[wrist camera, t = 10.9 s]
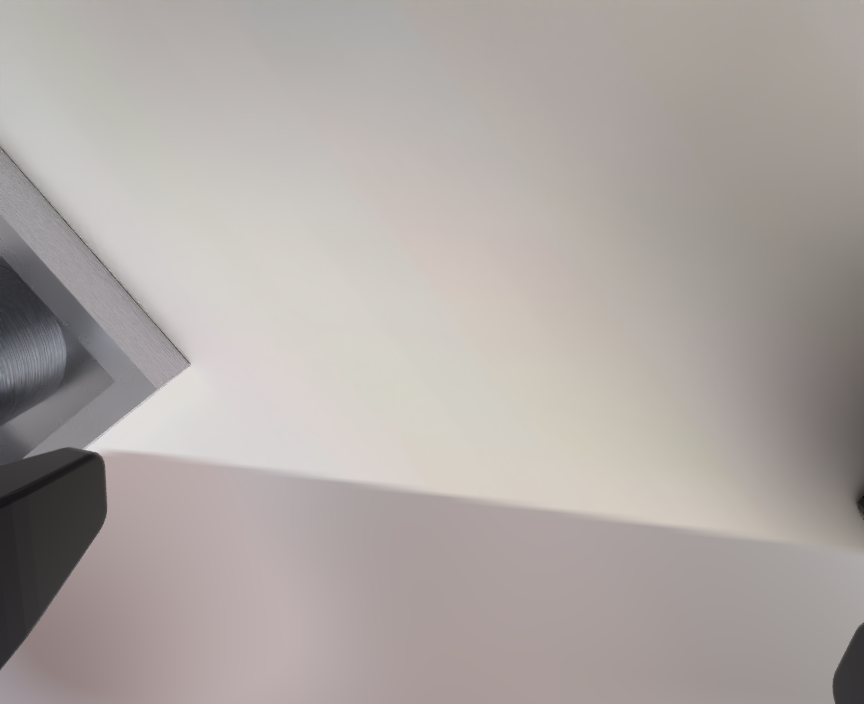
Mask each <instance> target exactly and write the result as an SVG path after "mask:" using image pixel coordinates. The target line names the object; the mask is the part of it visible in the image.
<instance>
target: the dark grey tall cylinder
mask: <svg viewBox="0 0 864 704" xmlns="http://www.w3.org/2000/svg"><path fill="white" fill-rule="evenodd" d="M65 365H66V348H65V342H64V337H63V334H62V331H61V328H60V325H59V323H58V321H57V319H56V316H55V315H54V313H53V312H52V311H51V310H50V309H49V308H48V307H47V305H46V304H45V303H44V302H43V301H42V300H41V299H40V298H39V297H38V296H37V295H36V293H35V292H34V291H33V290H32V289H31V288H30V287H29V286H28V285H27V284H26V282H25V281H24V280H23V279H22V278H21V277H20V276H19V275H18V274H17V273H15V272H13V271H11V270H10V269H8V268H6V267H4V266H1V265H0V426H2V425H4V424H5V423H7V422H9V421H11V420H12V419H14V418H16V417H17V416H19V415H21V414H22V413H24V412H26V411H28V410H29V409H31V408H33V407H34V406H36V405H38V404H39V403H41V402H43V401H44V400H46V399H47V398H49V397H50V396H51V395H52V394H53V393H54V391H55V390H56V389H57V388H58V386H59V384H60V382H61V380H62V377H63V375H64V371H65Z"/></svg>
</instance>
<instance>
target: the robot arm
mask: <svg viewBox="0 0 864 704" xmlns="http://www.w3.org/2000/svg"><path fill="white" fill-rule="evenodd" d="M858 511H859V513H860V515H861V516H862V518H863V519H864V496H863V497H862V498H861V500H860V501H859V502H858ZM106 514H107V495H106V476H105V464H104V460H103V458H102V456H101V455H99V454H98V453H96V452H92V451H87V450H82V449H78V448H73V447H65V448H61V449H57V450H53V451H50V452H46V453H42V454H39V455H35V456H32V457H28V458H24V459H21V460H17V461H13V462H10V463H6V464H2V465H0V670H1V669H2V667H3V666H4V665H5V664H6V663H7V661H8V660H9V659H10V658H11V656H12V655H13V654H14V653H15V651H16V650H17V649H18V648H19V646H20V645H21V644H22V643H23V641H24V640H25V639H26V637H27V636H28V635H29V633H30V632H31V631H32V629H33V628H34V626H35V625H36V624H37V622H38V621H39V620H40V618H41V617H42V615H43V614H44V612H45V611H46V609H47V608H48V606H49V605H50V603H51V602H52V600H53V599H54V597H55V596H56V595H57V593H58V592H59V590H60V589H61V587H62V586H63V584H64V583H65V581H66V580H67V578H68V577H69V575H70V574H71V572H72V571H73V570H74V568H75V567H76V565H77V564H78V562H79V561H80V559H81V558H82V556H83V555H84V553H85V552H86V550H87V549H88V547H89V546H90V545H91V543H92V542H93V540H94V538H95V537H96V535H97V534H98V533H99V531H100V529H101V527H102V526H103V524H104V521H105V518H106ZM833 696H834V701H835V704H864V623H862V624H861V625H860V626H859V627H858V628H857V630H856V632H855V634H854V636H853V638H852V639H851V641H850V643H849V645H848V647H847V650H846V651H845V653H844V655H843V657H842V659H841V661H840V663H839V665H838V667H837V669H836V671H835V675H834V678H833Z"/></svg>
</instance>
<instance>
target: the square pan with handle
mask: <svg viewBox="0 0 864 704" xmlns="http://www.w3.org/2000/svg"><path fill="white" fill-rule="evenodd" d="M0 265H1V266H4V267H6V268H8V269H10V270H11V271H13V272H15V273H17V274H18V275H19V276H20V277H21V278H22V279H23V280H24V281H25V282H26V284H27V285H28V286H29V287H30V288H31V289H32V290H33V291H34V292H35V293H36V295H37V296H38V297H39V298H40V299H41V300H42V301H43V302H44V303H45V304H46V305H47V307H48V308H49V309H50V310H51V311H52V312H53V313H54V315H55V316H56V319H57V321H58V323H59V325H60V328H61V331H62V334H63V337H64V342H65V348H66V365H65V371H64V375H63V377H62V380H61V382H60V384H59V386H58V388H57V389H56V390H55V391H54V393H53V394H52V395H51V396H50V397H49V398H47V399H46V400H44V401H43V402H41V403H39V404H38V405H36V406H34V407H33V408H31V409H29V410H28V411H26V412H24V413H22V414H21V415H19V416H17V417H16V418H14V419H12V420H11V421H9V422H7V423H5V424H4V425H2V426H0V465H2V464H6V463H10V462H13V461H17V460H21V459H24V458H28V457H32V456H35V455H39V454H42V453H46V452H50V451H53V450H57V449H61V448H65V447H73V448H78V449H82V450H84V449H85V448H87V447H88V446H89V445H91V444H92V443H93V442H94V441H96V440H97V439H98V438H99V437H101V436H102V435H103V434H104V433H106V432H107V431H108V430H109V429H111V428H112V427H113V426H114V425H116V424H117V423H118V422H120V421H121V420H122V419H123V418H125V417H126V416H127V415H128V414H130V413H131V412H132V411H133V410H135V409H136V408H137V407H138V406H140V405H141V404H142V403H144V402H145V401H146V400H147V399H149V398H150V397H151V396H152V395H154V394H155V393H156V392H157V391H159V390H160V389H161V388H162V387H164V386H165V385H166V384H168V383H169V382H170V381H171V380H173V379H174V378H175V377H176V376H178V375H179V374H180V373H181V372H183V371H184V370H185V369H186V368H188V367H189V366H190V364H189V363H188V362H187V360H186V359H185V358H184V357H183V356H182V355H181V354H180V352H179V351H178V350H177V349H176V348H175V347H174V346H173V344H172V343H171V342H170V341H169V340H168V339H167V338H166V336H165V335H164V334H163V333H162V332H161V331H160V330H159V328H158V327H157V326H156V325H155V324H154V323H153V322H152V320H151V319H150V318H149V317H148V316H147V315H146V314H145V312H144V311H143V310H142V309H141V308H140V307H139V306H138V304H137V303H136V302H135V301H134V300H133V299H132V298H131V296H130V295H129V294H128V293H127V292H126V291H125V290H124V288H123V287H122V286H121V285H120V284H119V283H118V282H117V280H116V279H115V278H114V277H113V276H112V275H111V274H110V272H109V271H108V270H107V269H106V268H105V267H104V266H103V264H102V263H101V262H100V261H99V260H98V259H97V258H96V256H95V255H94V254H93V253H92V252H91V251H90V250H89V248H88V247H87V246H86V245H85V244H84V243H83V242H82V240H81V239H80V238H79V237H78V236H77V235H76V234H75V232H74V231H73V230H72V229H71V228H70V227H69V226H68V224H67V223H66V222H65V221H64V220H63V219H62V218H61V216H60V215H59V214H58V213H57V212H56V211H55V210H54V208H53V207H52V206H51V205H50V204H49V203H48V202H47V200H46V199H45V198H44V197H43V196H42V195H41V194H40V192H39V191H38V190H37V189H36V188H35V187H34V186H33V184H32V183H31V182H30V181H29V180H28V179H27V178H26V176H25V175H24V174H23V173H22V172H21V171H20V170H19V169H18V167H17V166H16V165H15V164H14V163H13V162H12V161H11V159H10V158H9V157H8V156H7V155H6V154H5V153H4V151H3V150H2V149H1V148H0Z"/></svg>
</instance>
